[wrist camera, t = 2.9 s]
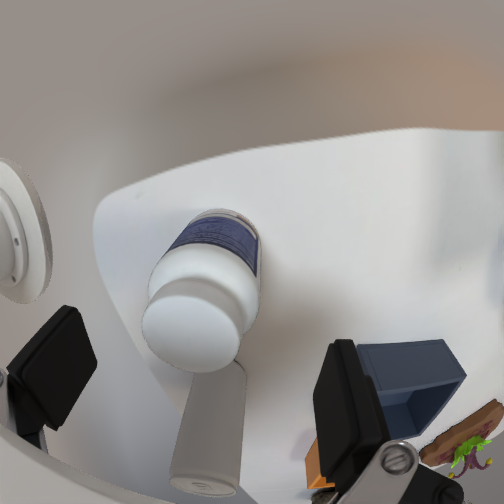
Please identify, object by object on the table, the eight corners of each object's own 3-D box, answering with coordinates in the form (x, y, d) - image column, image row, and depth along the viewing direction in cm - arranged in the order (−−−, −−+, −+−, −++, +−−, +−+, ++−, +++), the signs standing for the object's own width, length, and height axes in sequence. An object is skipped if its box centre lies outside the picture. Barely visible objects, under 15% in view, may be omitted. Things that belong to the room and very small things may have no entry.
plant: (499, 417, 33) (516, 449, 22) (431, 463, 38) (442, 498, 28) (501, 387, 27) (526, 430, 17) (412, 449, 33) (426, 497, 23)
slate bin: (330, 409, 26) (337, 450, 21) (357, 344, 22) (374, 391, 17) (406, 401, 26) (420, 436, 21) (443, 338, 22) (467, 375, 17)
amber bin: (305, 458, 32) (307, 489, 27) (322, 426, 28) (327, 464, 23) (367, 451, 32) (373, 480, 26) (394, 418, 28) (405, 451, 22)
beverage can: (203, 387, 25) (181, 493, 14) (189, 354, 23) (155, 472, 12) (250, 386, 25) (244, 498, 14) (242, 351, 23) (230, 480, 12)
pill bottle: (174, 217, 18) (103, 289, 9) (251, 199, 18) (238, 265, 9) (196, 285, 20) (157, 385, 11) (268, 272, 20) (270, 378, 11)
